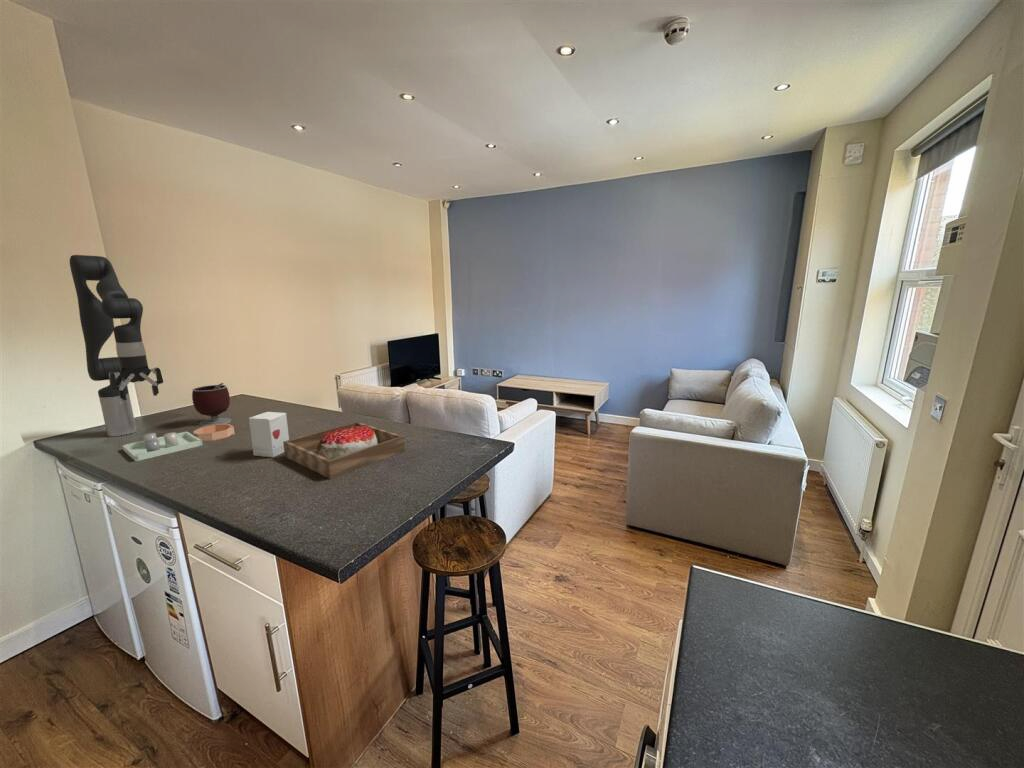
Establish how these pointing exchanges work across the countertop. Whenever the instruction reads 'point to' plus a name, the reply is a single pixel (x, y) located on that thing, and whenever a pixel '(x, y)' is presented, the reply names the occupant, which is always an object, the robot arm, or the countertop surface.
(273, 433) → the supplement box
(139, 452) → the tray
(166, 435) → the pebble
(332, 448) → the cake
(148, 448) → the grey rounded knob
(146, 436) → the pebble
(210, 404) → the mate gourd
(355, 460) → the wooden tray
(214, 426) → the bowl
